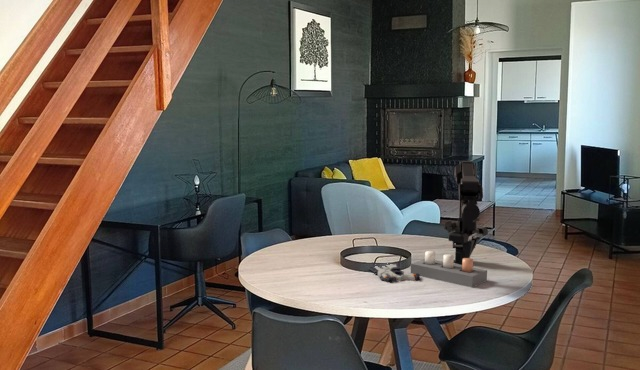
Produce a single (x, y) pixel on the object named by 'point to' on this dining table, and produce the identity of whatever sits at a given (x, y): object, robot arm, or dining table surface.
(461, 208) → the robot arm
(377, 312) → the dining table surface
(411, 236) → the dining table surface
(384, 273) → the toy gun
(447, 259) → the plug white mid
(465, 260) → the plug terracotta
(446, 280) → the socket board
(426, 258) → the plug white near
